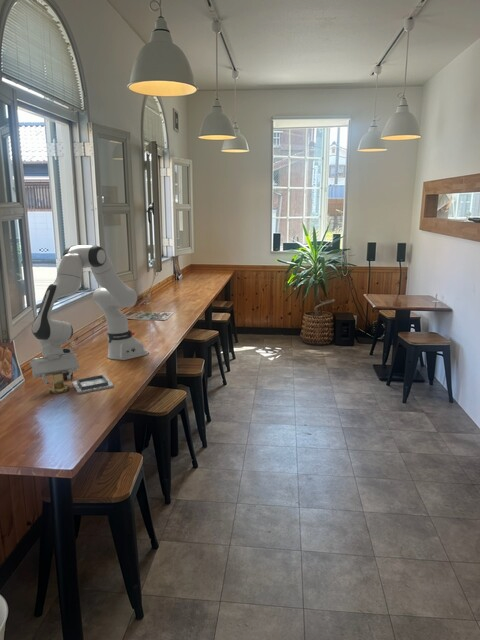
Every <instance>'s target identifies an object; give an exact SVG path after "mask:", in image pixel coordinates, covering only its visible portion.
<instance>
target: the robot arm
mask: <svg viewBox="0 0 480 640" xmlns="http://www.w3.org/2000/svg"><path fill="white" fill-rule="evenodd" d="M86 268H90V270H91V272H92V275H93V277H94V279H95V281H96V283H97V285H98V286H99V287H97V288H96V289H95V290H94V291H93V294H92V300H93V302H94V303H95V305H97V306H98V307H99V308H100V309H101V311H102V313H103V314H104V317H105V321H106V326H107V333H106V336H107V343H108V348H107V349H108V351H107V357H106V358H108V359H109V360H120V361H126V360H130V359H135V358H139V357H143V356H146V355H147V356H148V355H149V350H148V349H146V348H144V347H145V346H144V344H143V342H142V341H140V340H139V339H137V338H136V337H135V336H134V335H136V333H135V332H134V331H133V330H130V329H129V322H128V321H129V320H128V316H127V315H126V314H125V313H124V312H122V311H121V310H120V308H130V307H134V306H135V305H136V303H137V301H138V294H137V291H136V290H135V289H133V288H132V287H130V286H128V285H127V284H126V283H125V282H124V281H122V279H121V278H120V276H118V274H117V271H116V270H115V266H114V265H113V263H112V260H111V259H110V257H109V255H108V253H107V251H106V250H105V249H104V248H103V247H101V246H99V245H90V244H82V245H81V244H80V245H70V246H67V247H66V248H65V249H64V250H63V254H62V258H61V260H60V263H59V265H58V270H57V273H56V278H55V279H54V282H53V283H51V284H49V285H48V287H47V289H46V290H45V293H44V296H43V298H42V301H41V304H40V306H39V310H38V312H37V315H36V317H35V319H34V321H33V322H32V323H33V324H32V326H31V333H32V334H33V336H34V337H35V339H37V340H39V344H40V347H41V354H42V356H41V357H37V358H36V357H35V358H32V359H31V360H30V361H29V366H30V368H31V370H32V371H31V373H32V377H33V378H34V379H35V378H36V379H37V378H41V379H42V381H44V382H45V385H49V384H50V380H49V379H50V378H46V377H47V376H53V374H54V373H58V372H61V373H66V372H68V373H69V375H67V378H66V379H67V381H71V380H72V376H71V374H72V372H76V371H78V370H79V368H80V364H79V360H78V359H77V356H76V355H75V354H74V351H73V350H74V349H72V348H66V347H62V345H64V344H66V343H67V342H68V341H70V340H71V339H72V338H73V336H74V329H73V325H72V323H70V322H68V321H63V320H57V319H54V318H53V319H52V318H50V316H51V314H52V311H53V308H54V305H55V303H56V301H57V300H58V299H60V298H62V297H69V296H72V295H74V294H75V293H77V292H78V291H79V290H80V288H81V283H82V276H83V269H86Z"/></svg>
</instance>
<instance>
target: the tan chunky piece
mask: <svg viewBox="0 0 480 640" xmlns="http://www.w3.org/2000/svg"><path fill="white" fill-rule="evenodd" d="M52 381H53V385H52V386H51V388H48V392H49V393H50V394H54V395H58V394H63V393H64V394H65V393H68V390H71V387H70V384H69V385H67V384H65V379H63V373H61V372H58V373H54V374H53V375H52Z"/></svg>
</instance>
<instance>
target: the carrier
mask: <svg viewBox="0 0 480 640" xmlns="http://www.w3.org/2000/svg"><path fill="white" fill-rule="evenodd" d="M71 384H72V386H73V388H74V390H75V391H76V393H77V395H82V394H85V393H91V392H96V391H102V390H106V389H112V388H115V385H114V383H113V382H112V381H111V380H110V379H109V377H107V375H103V374H100V375H99V374H98V375H95V376H90V377H83V378H79V379H76V380H74V381H71Z"/></svg>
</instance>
